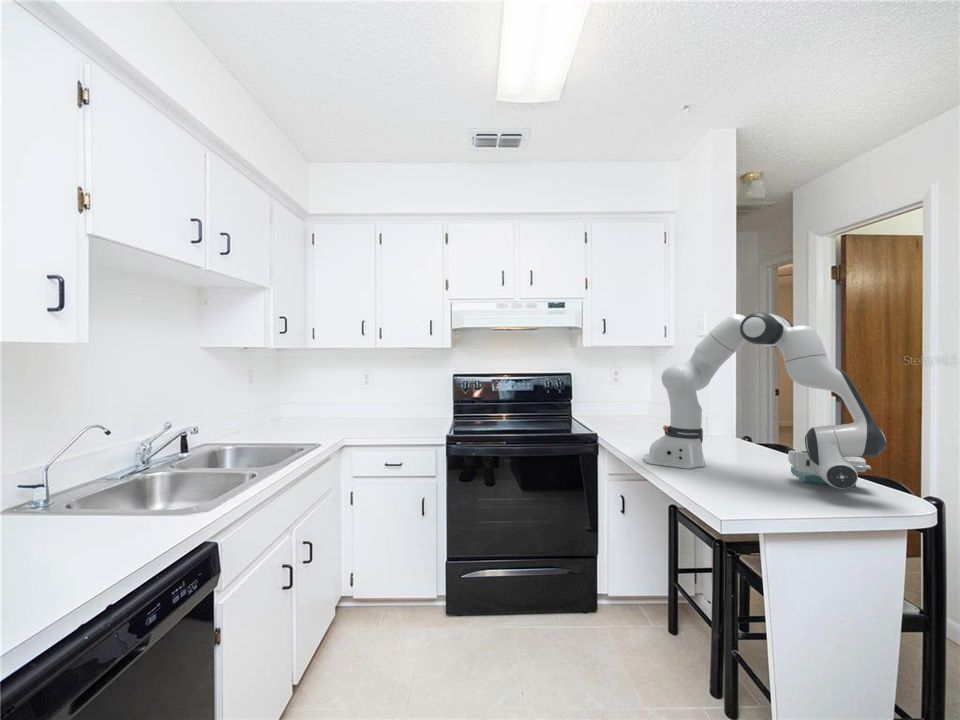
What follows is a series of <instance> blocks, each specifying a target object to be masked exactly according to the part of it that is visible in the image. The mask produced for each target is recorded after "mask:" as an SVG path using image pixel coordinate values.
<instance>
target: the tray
mask: <svg viewBox="0 0 960 720" xmlns="http://www.w3.org/2000/svg"><path fill="white" fill-rule="evenodd" d="M791 472H792V473H793V474H792V473H791ZM790 473H791V474H792V475H794V474H795V475H796V476H795V475H794V476H795V477H797V478H798V477H799V478H800V480H801V481H802V482H803V481H804V483H805V484H815V483H820V484H819V485H826V484H827V483H826V482H825V481H824V480H823V479H822V478H821V477H819V476H817V475H814V474H810V473H805V472H801V471H798V470H797V469H796V467H795V466H793V465H791V466H790ZM799 478H798V479H799ZM856 487H857V482H856V483H855V484H854V485H853V487H852V488H856Z"/></svg>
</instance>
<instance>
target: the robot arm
mask: <svg viewBox="0 0 960 720" xmlns="http://www.w3.org/2000/svg"><path fill="white" fill-rule="evenodd" d="M793 325H794V324H792V322H791V321H790V320H788V319H787V318H785V317H782V316H781V315H780V316H779V315H778V314H775V313H766V312H763V311H762V312H753V313H751V314H748V315H747V316H745V315H743V314H739V313H732V314H730V315H728V316H727V317H726V318H724V319H722V321H720V322H719V323H718V324H717V325H716V326H715V327H713V329H712V330H710V331H709V333H707V335H706V336H704V338H703V339H702V340H701V341H700V342H698V344H697V345H696V346H695V348H694V352H693V354H692V355H691V357H690V358H689V359H688V360H687V362H685V363H677V364H673V365H671V366H668V367H667V368H665V370H663V372H662V374H661V383H662V385H663V387H664V388H665V389H666V394H667V397H668V401H669V407H670V423H669V424H670V425H666V424H665V425H663V426H662V429H663V430H662V431H664V435H663V436H661V437H659V438H658V439H656V440H654V441H653V442H652V443H651V445H650V446H649V450H648V453H646V454H644V455H643V461H644V462H645V463H646V464H648V465H649V464H650V465H656V466H657V465H658V466H663V467H664V466H665V467H671V468H682V469H690V470H691V469H696V468H702V467H705V466H706V465H707V464H706V461H705V457H704V452H703V440H704V431H703V428H702V425H703V424H702V421H703V420H702V419H703V418H702V415H703V414H702V412H703V409H702V406H701V405H700V403H699V400H698V395H697V392H698V391H701V390H703V389H704V388H706V387H707V386H708V385H709V384H710V383H711V380H712V379H713V377H714V376H715V374H716V373H717V372H718V370H719V369H720V368H721V366H722V365H724V363H725V362H727V360H728V359H729V358H731V357H732V356H733V354H735V353H736V351H738V350H740V348H741V347H742V346H743V345H744V344H745V343H748V342H749V343H750V344H752V345H753V344H754V345H757V346H760V347H770V348H778V349H779V351H780V352H781V354H782V357H783V361H784V365H785V370H786V372H787V374H788V377H789V378H790V379H791V380H792V381H793V382H795V383H796V384H798V385H800V386H802V387H807V388H811V389H818V390H824V391H828V392H832V393H835V394H836V395H837V396H839V397H840V398H841V399H842V402H843V404H844V405H845V407H846V409H847V410H848V413H849V414H850V415H851V417H852V420H853V422H852V423H844V424H834V425H829V424H828V425H822V426H812V427H810V428H809V430H808V431H807V432H806V434H805V436H804V446H805V449H806V450H793V449H792V450H788V454H787V459H788V462H789V463H790V464H791V466H795V467H796V469H797V470H798V471H801V472H805V473H810V474H814V475H817V476H819V477H821V478H822V479H823V480H824V481H825V482H826V483H827V484H829V485H828V486H831V487H833V488H836V489H840V490H841V489H849V488H851V487H852V486H853V485H854V484H855V483H856V484H857V481H858V478H859V475H858V473H866V471H867V470H869V471H871V470H872V467H871V466H870V465H868V464H867V461H866V459H865V457H867V458H868V457H878V456H879V455H880V454H882V453H883V451H885V450H886V448H887V440H886V436H885V433H883V431H882V429H880V427H879V426H878V424H877V422H876V421H875V419H874V418H873V416H872V414H871V412H870V410H869V409H868V407H867V406H866V404H865V402H864V400H863V398H862V396H861V394H860V392H859V391H858V390H857V387H856V386H855V384H854V382H853V380H852V379H851V378H850V376H849V375H848V374H847V373H846V372H845V371H844V370H840V369H837V368H836V367H835V366H834V365H833V364H832V363H831V362H830V360H829V358H828V356H827V355H828V354H827V352H826V349H825V347H824V344H823V342H822V340H821V338H820V336H819V334H818V332H817V331H816V330H815V328H814V327H812V326H809V325H803V324H802V325H795V326H793ZM863 457H864V458H863ZM852 488H853V487H852Z"/></svg>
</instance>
